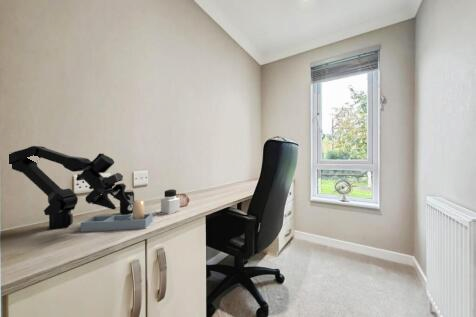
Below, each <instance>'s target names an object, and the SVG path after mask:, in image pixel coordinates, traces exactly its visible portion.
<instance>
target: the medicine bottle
mask: <svg viewBox="0 0 476 317" xmlns="http://www.w3.org/2000/svg"><path fill="white" fill-rule="evenodd" d="M180 200H181V198H179V197H177V190H176V189H166V190H164V198H161V199H160V213H164V214H168V215H171V214H172V215H173V214H174V213H178V212H180V211H181V204H180V203H181V201H180Z"/></svg>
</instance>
